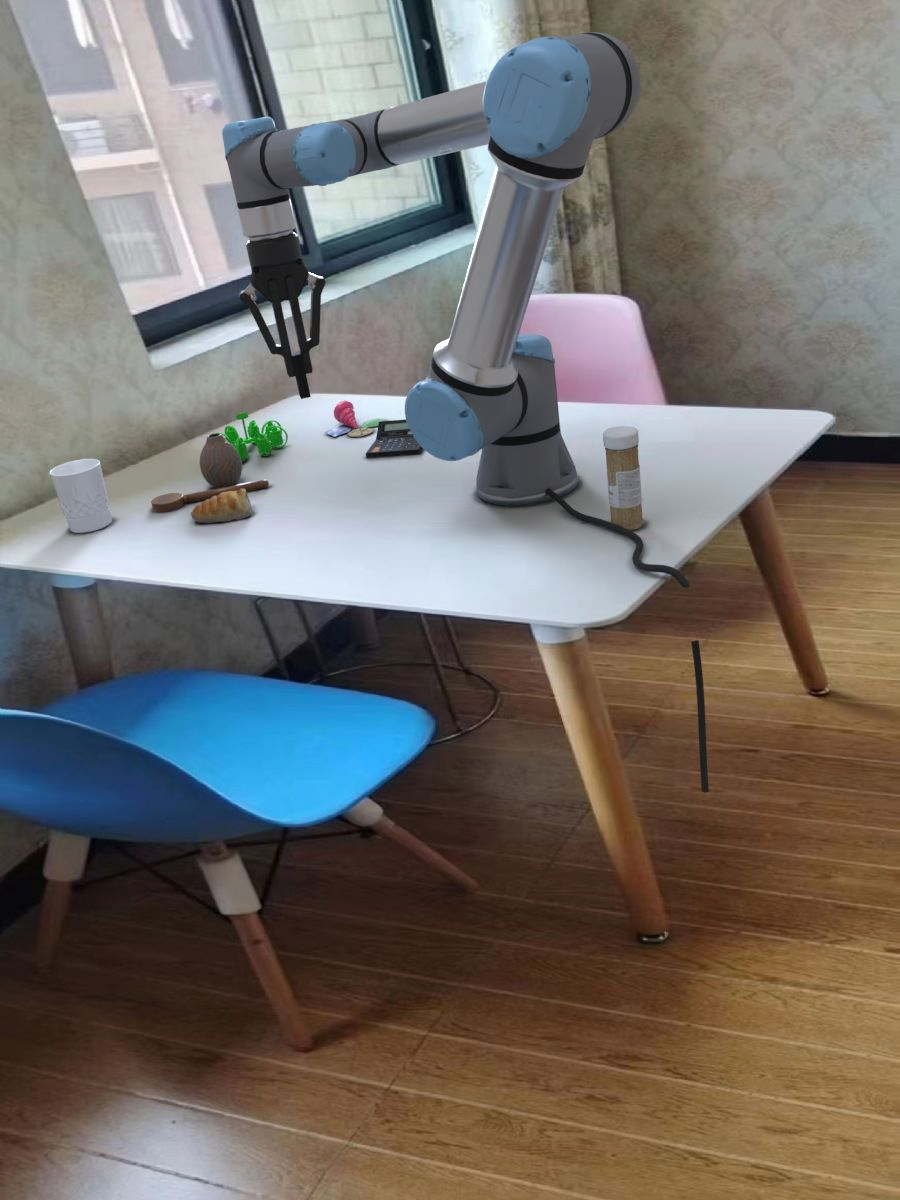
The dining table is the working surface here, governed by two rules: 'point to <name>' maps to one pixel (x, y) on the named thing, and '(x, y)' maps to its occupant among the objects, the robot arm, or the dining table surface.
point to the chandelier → (255, 437)
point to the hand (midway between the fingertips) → (305, 396)
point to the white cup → (82, 494)
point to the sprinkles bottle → (623, 476)
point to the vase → (220, 462)
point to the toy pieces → (350, 421)
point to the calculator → (393, 440)
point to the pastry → (223, 507)
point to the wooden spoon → (199, 496)
